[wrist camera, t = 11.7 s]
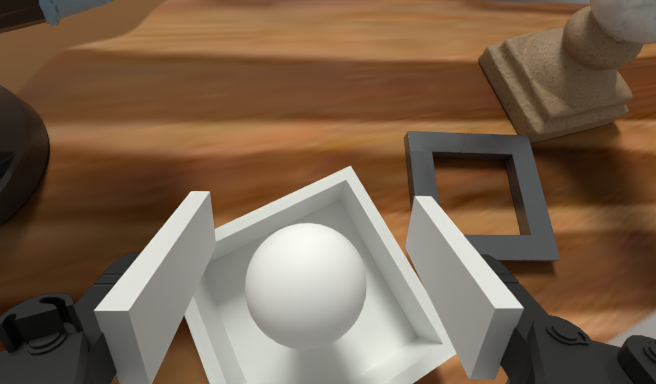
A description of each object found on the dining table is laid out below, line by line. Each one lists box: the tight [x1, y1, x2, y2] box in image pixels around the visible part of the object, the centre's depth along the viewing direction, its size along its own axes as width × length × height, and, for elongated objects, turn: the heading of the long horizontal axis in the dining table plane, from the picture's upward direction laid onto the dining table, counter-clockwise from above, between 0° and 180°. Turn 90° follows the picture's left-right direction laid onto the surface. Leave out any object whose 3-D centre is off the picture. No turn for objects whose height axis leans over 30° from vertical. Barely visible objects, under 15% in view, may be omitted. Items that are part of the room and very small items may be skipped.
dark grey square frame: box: [404, 131, 560, 262], centre depth 27 cm, size 12×12×1 cm
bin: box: [184, 166, 457, 384], centre depth 21 cm, size 14×14×5 cm
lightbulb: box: [245, 223, 367, 350], centre depth 18 cm, size 6×6×11 cm
